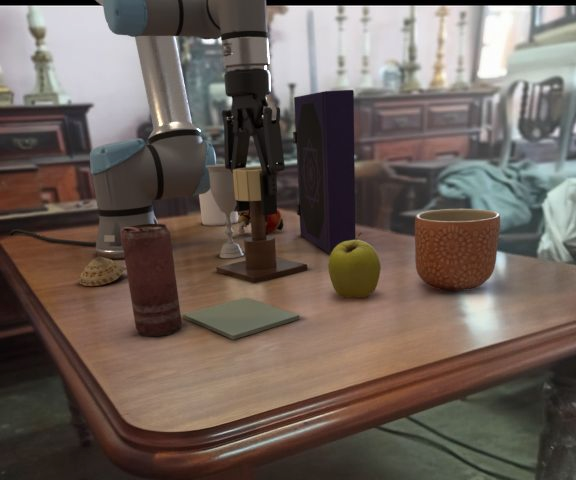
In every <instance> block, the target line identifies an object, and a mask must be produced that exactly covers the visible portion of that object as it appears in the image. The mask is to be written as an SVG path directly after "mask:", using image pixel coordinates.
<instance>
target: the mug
mask: <svg viewBox="0 0 576 480" xmlns="http://www.w3.org/2000/svg"><path fill="white" fill-rule="evenodd" d="M198 198H199V199H198V200H199V208H200V215H201V217H200V218H201V223H202V225H203V226H208V227H214V226H216V227H217V226H226V224H225V222H226V215H225V213H223V212H221V211H220V209H219V207H218V205H217V204H216V202H215V200H214V198H213V195H212V193H211V188H210V190H209V191H208V192H206V193H204V194H199V195H198ZM230 218H231V221H232V224H231V225H233V224H236V223H238V221H239V215H238V212H235V211H233V212H231V213H230Z"/></svg>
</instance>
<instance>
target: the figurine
mask: <svg viewBox="0 0 576 480" xmlns="http://www.w3.org/2000/svg"><path fill="white" fill-rule="evenodd" d="M234 211H235V212H238V222H237V223H238V233H239V235H241V236H242V235H244V234H245V232H246V230H245V228H247V227H248V226H249V225H250V224H251V219H250V210H246V211H240V212H239V211H237V204H236V207H235V209H234ZM265 224H266V233H273V232H276V231H277V230H278V231H282V230H283V229H284V220H283V218H282V212H281V211H280V210H279V209H278V208H277V214H271V215H266V216H265Z"/></svg>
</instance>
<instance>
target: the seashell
mask: <svg viewBox="0 0 576 480" xmlns="http://www.w3.org/2000/svg"><path fill="white" fill-rule="evenodd" d="M124 271H127V269H126V266H124V265H121V264H119V262H117V261H115V260H113V259H110V258H103V257H99V256H96V257H95V258H94V259H92V260H91V261H90V262H89V263H88V264H87V265H86V266H85V267H84V268H83V270H82V271H81V273H80V275H79V280H78V282H79V285H81V286H84V287H97V286H104V285H106V284H110V283H112V282H114V281H116V280H118V279H119V278H120V277H121V276H122V275H123V272H124Z"/></svg>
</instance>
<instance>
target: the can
mask: <svg viewBox="0 0 576 480" xmlns="http://www.w3.org/2000/svg"><path fill="white" fill-rule="evenodd" d="M121 241H122V247H123V251H124V257H125V258H124V262H125V263H124V264H125V267H126V275H127V281H128V288H129V293H130V299H131V306H132V312H133V319H134V324H135V329H136V331H137V332H138V333H139V334H140V335H141V336H145V337H161V336H167V335H171V334H173V333H176V332H178V331H179V330H180V328H181V326H182V315H181V307H180V299H179V292H178V285H177V276H176V269H175V261H174V253H173V246H172V239H171V232H170V229H168V227H167V225H166V224H165V223H164V224H163V223H158V224H142V225H135V226H130V227H124V228H123V229H122V230H121Z"/></svg>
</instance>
